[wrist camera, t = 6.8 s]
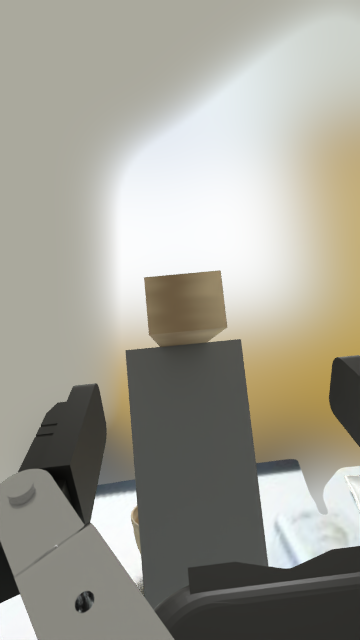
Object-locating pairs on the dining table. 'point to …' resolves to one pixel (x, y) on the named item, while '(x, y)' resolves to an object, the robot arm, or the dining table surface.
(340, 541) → the dining table surface
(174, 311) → the block
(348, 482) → the square plate
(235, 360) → the stand
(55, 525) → the robot arm
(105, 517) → the dining table surface
